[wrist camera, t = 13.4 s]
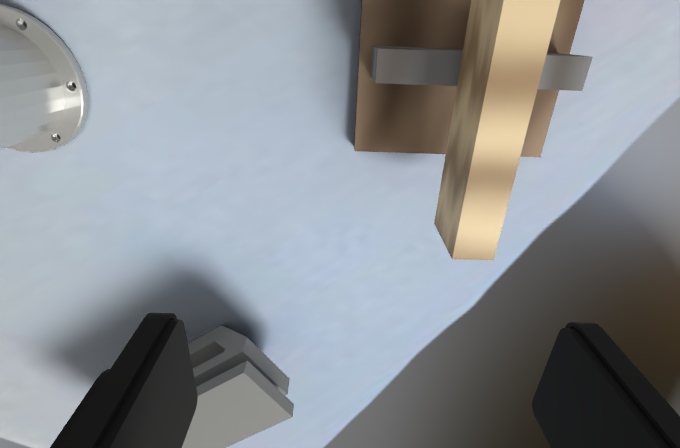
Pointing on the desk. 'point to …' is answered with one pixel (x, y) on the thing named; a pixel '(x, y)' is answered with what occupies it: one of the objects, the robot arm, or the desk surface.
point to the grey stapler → (234, 390)
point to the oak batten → (491, 120)
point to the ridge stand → (440, 74)
